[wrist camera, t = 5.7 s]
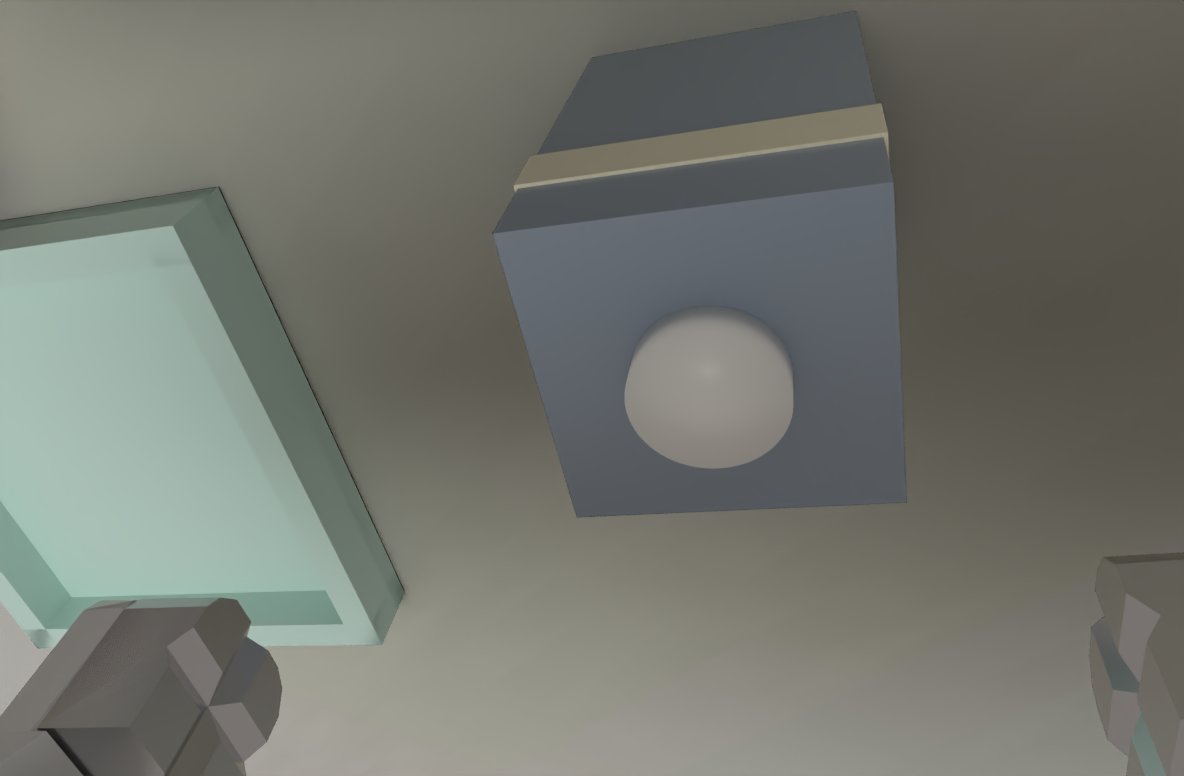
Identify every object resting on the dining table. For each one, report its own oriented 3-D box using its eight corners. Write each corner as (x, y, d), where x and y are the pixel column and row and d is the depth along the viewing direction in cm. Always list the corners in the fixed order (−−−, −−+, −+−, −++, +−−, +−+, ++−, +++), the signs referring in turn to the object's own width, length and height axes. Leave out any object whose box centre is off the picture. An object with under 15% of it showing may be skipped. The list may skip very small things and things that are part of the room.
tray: (218, 187, 19) (172, 225, 18) (404, 592, 26) (381, 644, 24) (-185, 249, 22) (-252, 287, 21) (75, 601, 29) (37, 648, 27)
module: (859, 7, 15) (903, 200, 9) (873, 256, 18) (915, 537, 12) (588, 54, 17) (473, 254, 11) (637, 282, 19) (566, 549, 13)
